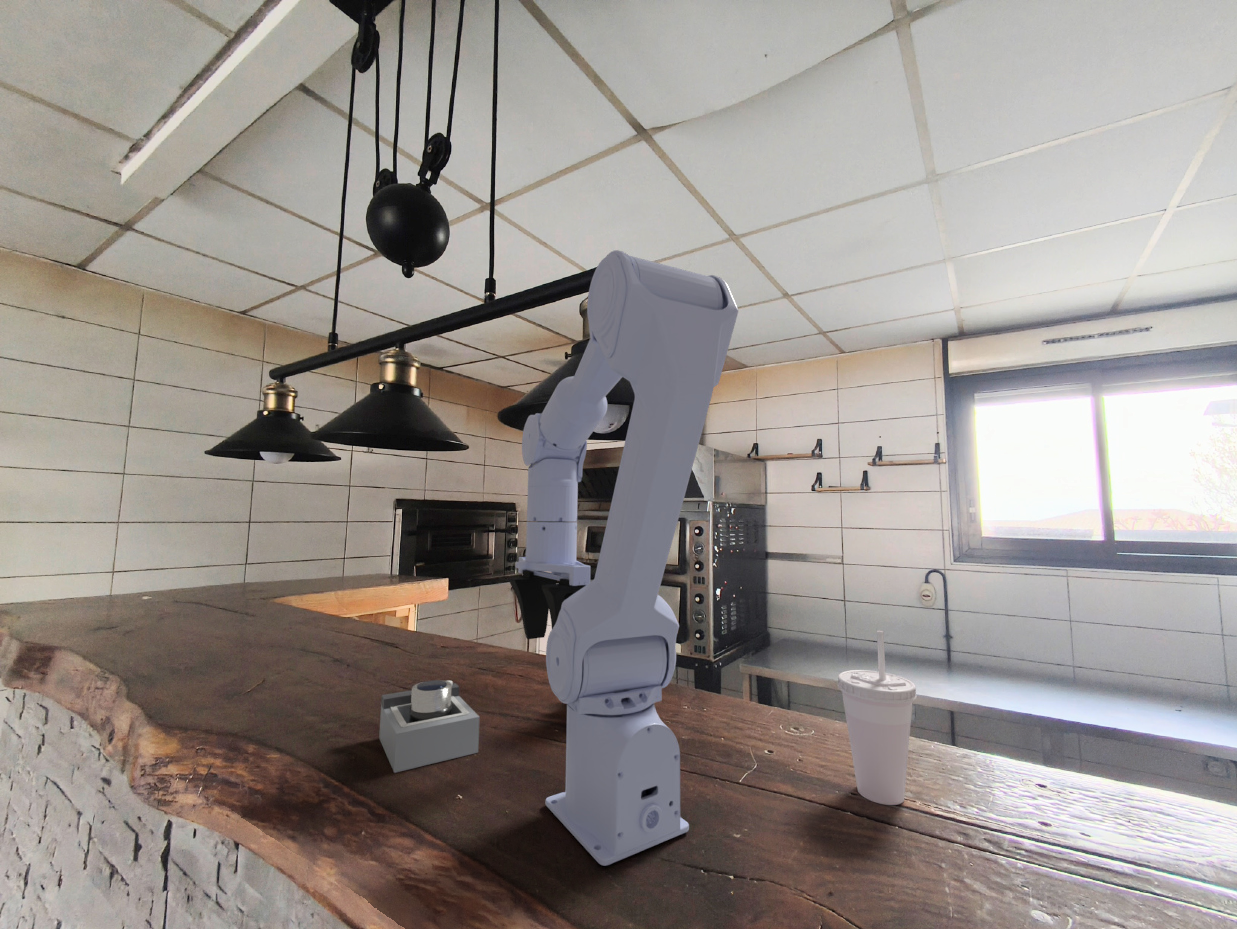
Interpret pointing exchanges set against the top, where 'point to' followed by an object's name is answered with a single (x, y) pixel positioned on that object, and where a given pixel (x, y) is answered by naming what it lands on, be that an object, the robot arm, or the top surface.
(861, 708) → the smoothie
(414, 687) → the lens
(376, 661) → the top surface
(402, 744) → the grey sink basin
